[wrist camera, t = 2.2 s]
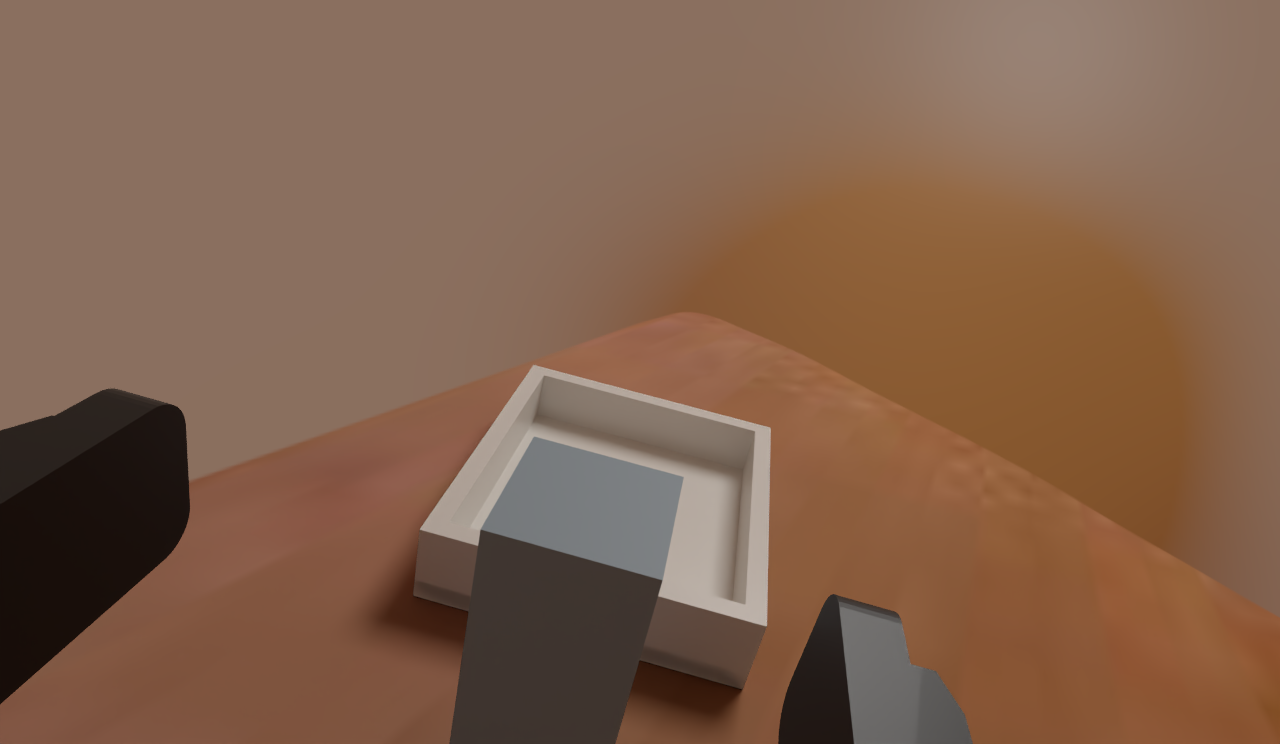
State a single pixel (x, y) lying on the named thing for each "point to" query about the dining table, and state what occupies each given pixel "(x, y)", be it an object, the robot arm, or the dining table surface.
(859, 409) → the dining table surface
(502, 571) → the slate block
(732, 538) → the tray
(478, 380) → the dining table surface
